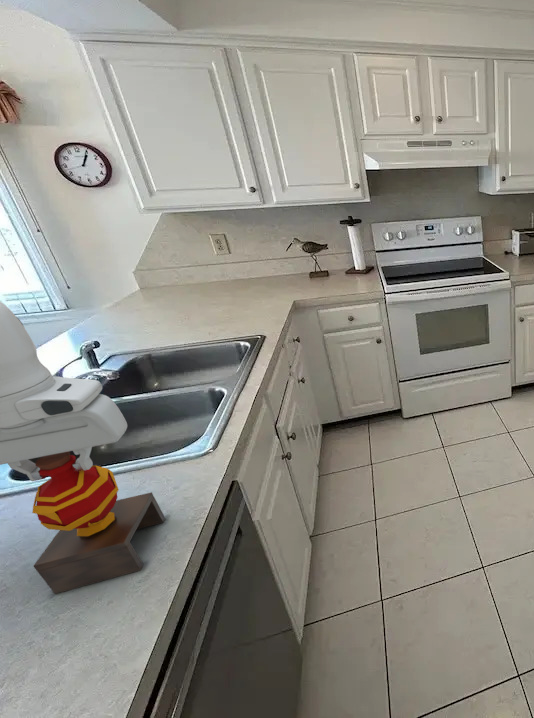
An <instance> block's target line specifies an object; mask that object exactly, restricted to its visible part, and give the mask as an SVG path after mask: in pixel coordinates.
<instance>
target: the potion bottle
mask: <svg viewBox="0 0 534 718" xmlns="http://www.w3.org/2000/svg"><path fill="white" fill-rule="evenodd" d="M76 456H77V455H76ZM76 456H75V455H74V454H73V455H72V454H71V451H68V452H63V453H58V454H53V455H48V456H43V457H39V458H37V459H36V461H35V464H36V465H35V466H37V467H39V468H40V473H39V474H40V475H42V476H46V477H50V478H49V479H48V480H46V481H45V482H43V483H42V484H41V485H39V486H38V487H37V491H36V492H35V496H34V500H33V505H32V514H35V515H36V516H37V519H38V521H40V525H42V526H43V527H44V528H46V529H47V530H54V531H59V530H65V531H70V530H72V529H77V536H90V535H92V534H94V533H97V532H99V531H101V530H103V529H105V528H106V527H107V526H108V525H109V524H110V523H111V522H112V521H113V520H115V517H114V513H113V512H110V511H111V509H112V508H113V507H114V505H115V502H116V500H118V492H119V490H120V489H119V487H118V483H117V480H116V477H115V475H114V472H113V471H111V470H110V469H109V468H108V467H103V466H100V465H92V467H91V468H90V469H89V470H84V471H79V472H77V471H76V469H75V468H74V467H73V465H72V464H73V463H74V462H75V461H76V460H77V458H76Z"/></svg>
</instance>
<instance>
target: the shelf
mask: <svg viewBox="0 0 534 718" xmlns="http://www.w3.org/2000/svg"><path fill="white" fill-rule="evenodd" d="M110 512H113V513H114V517H115V520H113V521H112V522H111V523H110V524H109V525H108V526H107V527H106V528H105V529H103V530H101V531H99V532H97V533H94V534H92V535H90V536H77V529H72V530H70V531H65V530H58V532H57V533H56V534H55V536H54V537H53V538H52V540H51V541H50V542H49V544H48V545H47V546H46V548H45V549H44V550H43V552H41V554H40V556H39V557H38V559H37V560H36V561H35V563H34V564H33V568H34V570H36V572H37V573H38V574H39V575H40V577H41V578H42V580H43V581H44V582H45V584H46V585H47V586H48V588H50V590H51V591H52V592H53V594H55V595H56V594H59V593H60V594H61V593H63V592H66V591H67V592H68V591H70V590H74V589H77V588H81V587H85V586H88V585H93V584H96V583H100V582H102V581H106V580H110V579H114V578H118V577H122V576H125V575H128V574H131V573H135V572H139V571H142V568H143V567H144V563H143V561H142V560H141V558H140V556H139V555H138V553H137V552H136V550H135V548H134V546H133V545H132V543H131V540H132V538H133V537H134V535H135V533H136V531H137V530H140V529H144V528H148V527H151V526H155V525H156V526H157V525H159V524H163V523H164V522H165V520H166V517H165V515H164V513H163V510H162V509H161V507H160V504H159V503H158V502H157V499H156V498H155V496H154V494H153V492H147V493H142V494H138V495H134V496H129V497H125V498H121V499H117V500H116V502H115V505H114V507H113V508H112V509H111V511H110Z"/></svg>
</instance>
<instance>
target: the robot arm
mask: <svg viewBox="0 0 534 718" xmlns="http://www.w3.org/2000/svg"><path fill="white" fill-rule="evenodd" d="M102 391H103V385H102V383H101V382H100V381H99V380H98V379H90V378H89V379H87V378H74V377H64V376H57V375H53V374H52V373H51V371H50V370H49V369H48V367H46V365H44V364H43V363H42V362H41V361H40V359H39V357H38V353H37V347H36V345H35V343H34V342H33V340H32V338H31V335H30V334H29V332H28V331H27V329H26V328H25V326H24V324H23V323H22V321H21V320H20V318H19V317H18V316H17V315H15V313H14V312H13V311H12V310H11V309H10V308H9V307H8V306H7V305H6V304H4V303H3V302H2V301H0V466H1V465H8V466H9V468H10V469H12V470H14V471H17V472H19V473H22V474H24V475H26V476H27V478H28V480H29V481H31V482H36V481H40V480H41V481H42V480H46V479H47V476H42V475H40V474H39V473H40V468H39V467H37V466H35V465H36V462H33V461H32V459H36V458H37V459H39V458H41V457H43V456H48V455H53V454H58V453H63V452H68V451H70V452H73V455H74V456H75V455H76V456H78V455H79V457H77V458H76V461H75V462H74V463H73V464H72V465H73V467H74V468H75V469H76V471H77V472H79V471H84V470H89V469H90V468H91V467H92V466H94V463H93V460H92V458H91V453H92V448H93V447H99V446H103V445H108V444H114V443H117V442H119V440H120V439H121V438H122V437H123V436H124V435H125V432H126V431H127V429H128V423H127V420H126V418H125V417H124V414H123V413H122V412H121V409H120V408H119V406H117V404H116V402H115V401H114V400H113V399H112V398H111V397H109V396H108V395H106V394H102V393H101V392H102Z"/></svg>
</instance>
